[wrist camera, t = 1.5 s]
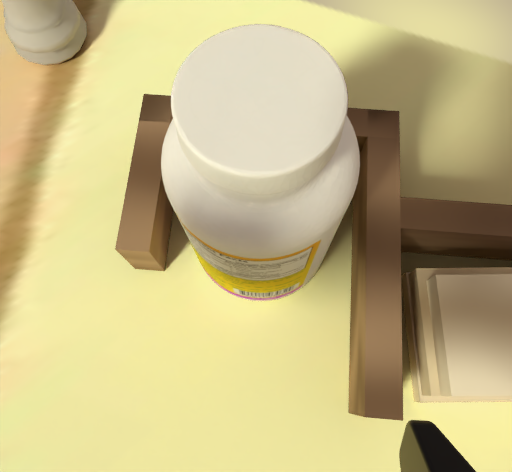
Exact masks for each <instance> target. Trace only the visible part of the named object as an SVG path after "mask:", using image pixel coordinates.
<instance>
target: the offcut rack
mask: <svg viewBox="0 0 512 472" xmlns="http://www.w3.org/2000/svg"><path fill="white" fill-rule="evenodd" d="M347 117H348V118H349V120H350V122H351V124H352V126H353V129H354V131H355V135H356V138H357V141H358V147H359V154H360V170H359V177H358V183H357V186H356V189H355V192H354V195H353V224H352V272H351V319H350V367H349V413H351V414H355V415H359V416H363V417H370V418H381V419H393V420H403V379H402V300H401V252H409V253H422V254H435V255H448V256H461V257H474V258H487V259H500V260H512V205H501V204H488V203H474V202H461V201H447V200H433V199H420V198H406V197H400V142H399V111H386V110H371V109H357V108H348V109H347ZM172 119H173V116H172V110H171V96H165V95H150V94H144V96H143V102H142V107H141V112H140V118H139V123H138V129H137V134H136V140H135V145H134V150H133V156H132V161H131V167H130V172H129V178H128V183H127V188H126V194H125V199H124V205H123V210H122V216H121V221H120V226H119V232H118V237H117V243H116V248H115V249H116V250H117V251H118V252H119V253H120V254H121V255H122V256H123V257H124V258H125V259H126V260H127V261H128V262H129V263H130V264H131V265H132V266H133V267H134V268H135V269H146V270H158V271H164V270H165V263H166V257H167V250H168V243H169V236H170V230H171V223H172V216H173V207H172V205H171V203H170V201H169V199H168V196H167V194H166V191H165V187H164V183H163V179H162V171H161V156H162V146H163V142H164V138H165V135H166V133H167V130H168V128H169V125H170V123H171V121H172Z"/></svg>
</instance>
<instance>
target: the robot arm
mask: <svg viewBox="0 0 512 472" xmlns="http://www.w3.org/2000/svg"><path fill="white" fill-rule="evenodd" d="M399 457H400V467H401V472H476V471H475V470H474V469H473V468H472V467H471V465H470V464H469V463H468V462H467V461H466V460H465V459H464V457H463V456H462V455H461V454H460V453H459V452H458V451H457V449H456V448H455V447H454V446H453V445H452V444H451V443H450V441H449V440H448V439H447V438H446V437H445V436H444V435H443V433H442V432H441V431H440V430H439V429H438V428H437V427H436V425H435V424H433V423H432V422H430V421H419V420H411V421H409V422H408V423H407V425H406V428H405V432H404V436H403V439H402V443H401V447H400V456H399Z"/></svg>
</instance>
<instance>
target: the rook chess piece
mask: <svg viewBox="0 0 512 472" xmlns="http://www.w3.org/2000/svg"><path fill="white" fill-rule="evenodd" d="M2 3H3V5H4V17H5V30H6V33H7V35H8V37H9V39H10V41H11V43H12V44H13V45H14V47H15V49H16V51H17V53H18V54H19V55H20V56H22V57H23V58H24V59H26V60H27V61H29V62H33V63H38V64H42V65H54V64H60V63H62V62H65V61H67V60H69V59H71V58H72V57H73V56H74V55H75V54H76V53H77V52H79V51H80V49H81V46H82V44H83V42H84V40H85V38H86V36H87V24H86V22H85V20H84V18H83V17H82V15H81V13H80V12H79V10H78V8H77V6H76V5H75V3H74V2H73V1H72V0H2Z"/></svg>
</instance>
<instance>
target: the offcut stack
mask: <svg viewBox="0 0 512 472" xmlns="http://www.w3.org/2000/svg"><path fill="white" fill-rule="evenodd" d="M401 286H402V295H403V305H404V314H405V323H406V332H407V342H408V351H409V360H410V370H411V379H412V388H413V397H414V402H420V403H423V402H512V267H491V268H416V269H415V270H413V271H412V272H406V273H404V274H403V275H402V276H401Z"/></svg>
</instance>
